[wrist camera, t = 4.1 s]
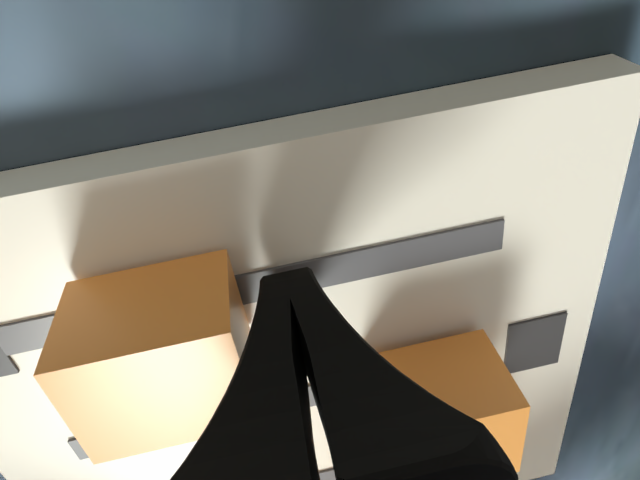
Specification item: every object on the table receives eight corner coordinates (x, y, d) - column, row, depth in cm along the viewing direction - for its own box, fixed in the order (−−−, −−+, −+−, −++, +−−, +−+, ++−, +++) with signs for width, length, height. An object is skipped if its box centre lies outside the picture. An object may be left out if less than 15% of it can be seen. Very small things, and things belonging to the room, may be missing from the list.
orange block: (226, 248, 13) (230, 332, 11) (252, 337, 15) (260, 425, 13) (66, 282, 13) (32, 376, 10) (112, 368, 15) (93, 464, 12)
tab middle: (483, 328, 17) (530, 406, 14) (478, 393, 18) (519, 471, 16) (359, 356, 16) (386, 440, 14) (367, 419, 18) (392, 502, 16)
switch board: (612, 53, 14) (653, 71, 13) (537, 444, 24) (555, 475, 23) (-167, 203, 13) (-210, 240, 11) (106, 548, 23) (100, 588, 22)
